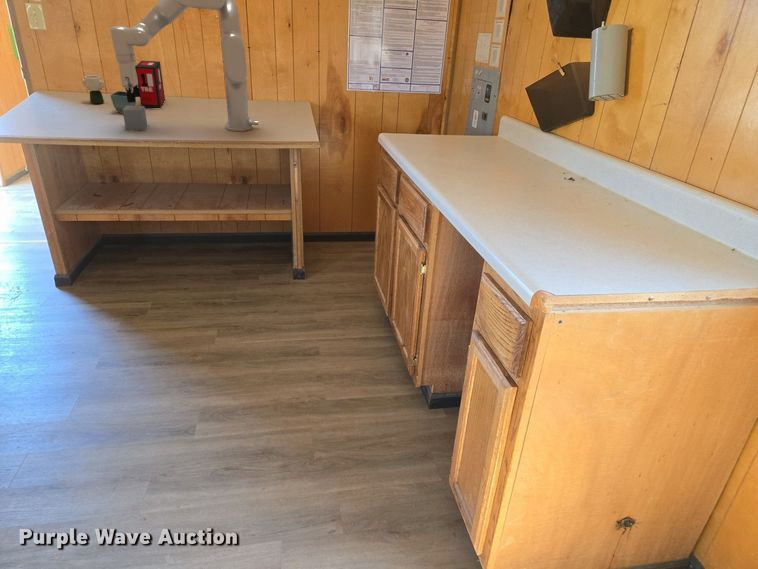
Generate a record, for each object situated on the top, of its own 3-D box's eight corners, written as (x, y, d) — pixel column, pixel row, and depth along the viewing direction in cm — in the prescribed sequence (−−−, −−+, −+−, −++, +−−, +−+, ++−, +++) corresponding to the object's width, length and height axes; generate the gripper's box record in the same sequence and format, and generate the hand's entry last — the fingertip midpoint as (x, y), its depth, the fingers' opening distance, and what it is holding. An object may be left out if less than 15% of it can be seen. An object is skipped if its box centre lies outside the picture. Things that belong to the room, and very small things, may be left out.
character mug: (111, 102, 273) (106, 76, 266) (104, 105, 267) (99, 78, 260) (90, 100, 273) (85, 74, 266) (83, 103, 267) (77, 76, 260)
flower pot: (131, 115, 256) (128, 96, 251) (113, 113, 256) (109, 94, 251) (138, 110, 263) (135, 92, 259) (121, 109, 263) (117, 90, 259)
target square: (149, 125, 245) (149, 124, 244) (145, 130, 237) (145, 130, 237) (128, 124, 243) (128, 124, 243) (124, 130, 235) (124, 129, 235)
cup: (147, 125, 244) (144, 106, 239) (144, 130, 237) (141, 110, 233) (129, 125, 242) (126, 105, 238) (125, 129, 236) (122, 109, 231)
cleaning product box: (160, 108, 270) (154, 67, 259) (141, 108, 268) (135, 66, 257) (165, 101, 283) (159, 61, 273) (147, 100, 282) (141, 60, 271)
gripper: (121, 54, 231) (129, 94, 240) (111, 61, 217) (120, 104, 226) (139, 54, 232) (146, 94, 241) (130, 62, 218) (139, 104, 227)
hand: (134, 99), depth 234 cm, fingers open, 9 cm apart
